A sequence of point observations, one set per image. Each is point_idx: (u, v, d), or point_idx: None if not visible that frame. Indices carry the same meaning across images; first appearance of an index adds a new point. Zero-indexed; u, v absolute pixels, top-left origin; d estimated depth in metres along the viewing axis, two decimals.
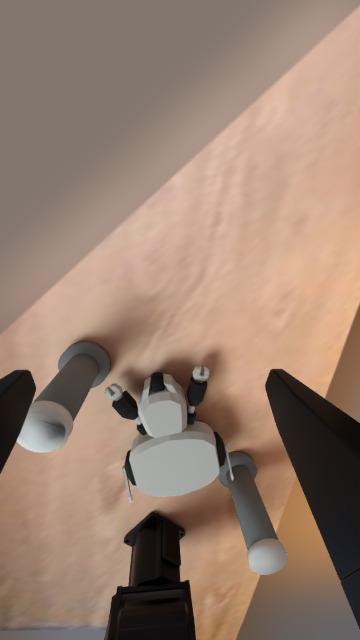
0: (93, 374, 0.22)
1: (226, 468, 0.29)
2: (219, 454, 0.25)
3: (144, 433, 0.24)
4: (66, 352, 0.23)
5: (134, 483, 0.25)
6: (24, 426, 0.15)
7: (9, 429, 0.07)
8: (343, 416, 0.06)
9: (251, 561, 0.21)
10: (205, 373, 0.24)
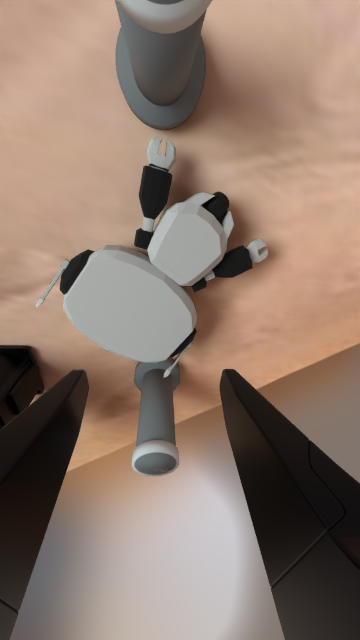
0: (186, 80, 0.12)
1: (155, 365, 0.24)
2: (183, 344, 0.20)
3: (141, 245, 0.16)
4: None
5: (66, 288, 0.16)
6: None
7: (73, 427, 0.07)
8: (279, 418, 0.06)
9: (143, 453, 0.16)
10: (263, 254, 0.18)
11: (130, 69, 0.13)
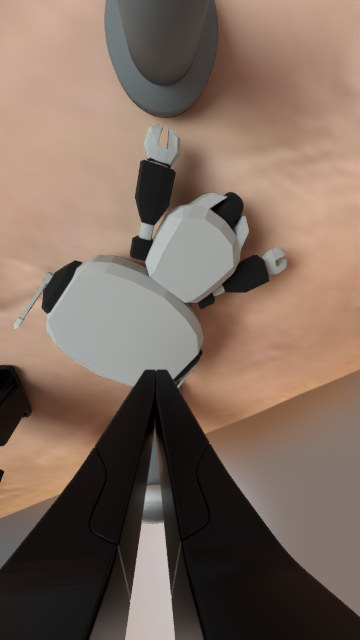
0: (194, 48, 0.09)
1: None
2: (187, 367, 0.17)
3: (138, 256, 0.13)
4: None
5: (49, 307, 0.14)
6: None
7: (153, 425, 0.07)
8: (188, 420, 0.06)
9: None
10: (281, 266, 0.15)
11: (123, 38, 0.10)
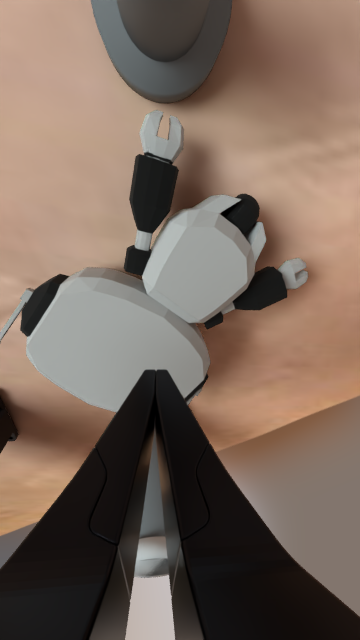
0: (204, 6, 0.07)
1: None
2: (190, 393, 0.15)
3: (133, 270, 0.11)
4: None
5: (29, 330, 0.12)
6: None
7: (153, 425, 0.07)
8: (188, 420, 0.06)
9: (136, 559, 0.12)
10: (301, 279, 0.13)
11: None
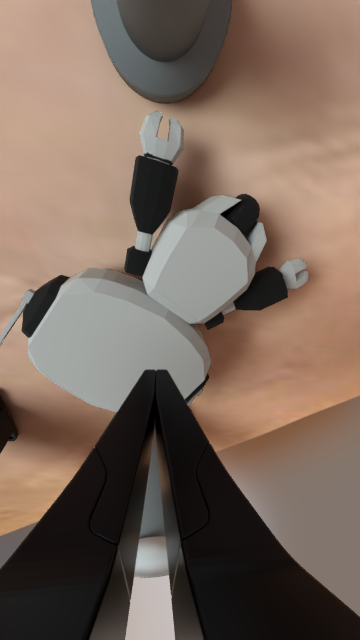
0: (204, 6, 0.07)
1: None
2: (191, 394, 0.15)
3: (134, 270, 0.11)
4: None
5: (30, 331, 0.12)
6: None
7: (153, 425, 0.07)
8: (188, 420, 0.06)
9: (136, 559, 0.12)
10: (302, 279, 0.13)
11: None
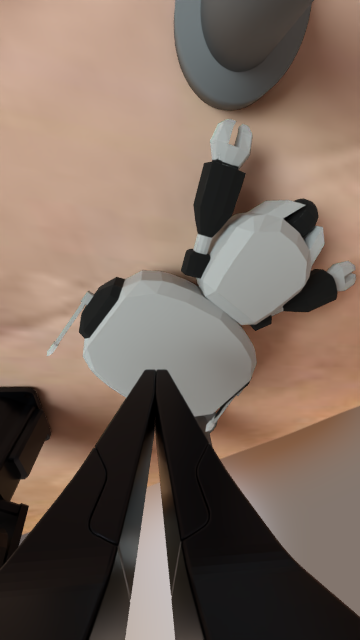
0: None
1: None
2: (234, 394, 0.15)
3: (193, 273, 0.11)
4: None
5: (89, 331, 0.12)
6: None
7: (153, 425, 0.07)
8: (188, 420, 0.06)
9: None
10: (350, 282, 0.13)
11: (197, 11, 0.08)
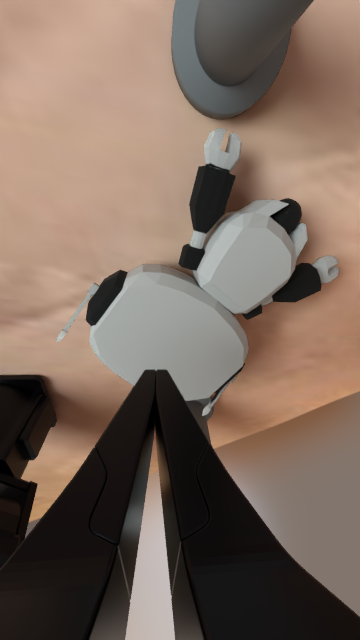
0: (275, 46, 0.08)
1: None
2: (229, 379, 0.16)
3: (189, 266, 0.13)
4: None
5: (95, 319, 0.13)
6: None
7: (153, 425, 0.07)
8: (188, 420, 0.06)
9: None
10: (333, 274, 0.14)
11: (191, 35, 0.09)
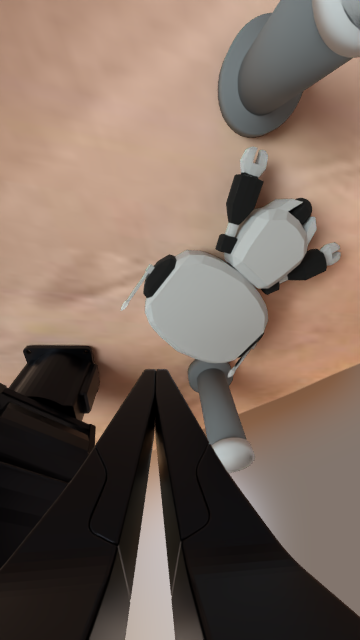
0: None
1: (211, 365, 0.24)
2: (251, 345, 0.20)
3: (225, 250, 0.16)
4: None
5: (152, 292, 0.17)
6: None
7: (153, 425, 0.07)
8: (188, 420, 0.06)
9: (223, 450, 0.17)
10: (336, 257, 0.18)
11: (235, 81, 0.13)
